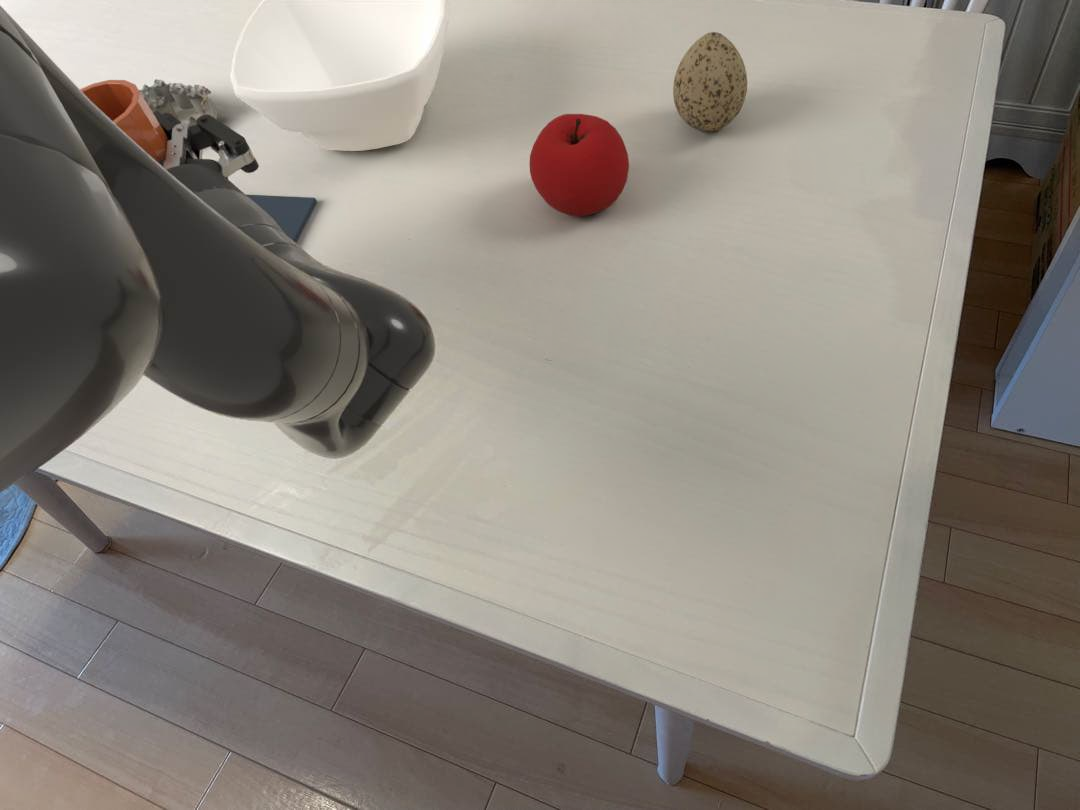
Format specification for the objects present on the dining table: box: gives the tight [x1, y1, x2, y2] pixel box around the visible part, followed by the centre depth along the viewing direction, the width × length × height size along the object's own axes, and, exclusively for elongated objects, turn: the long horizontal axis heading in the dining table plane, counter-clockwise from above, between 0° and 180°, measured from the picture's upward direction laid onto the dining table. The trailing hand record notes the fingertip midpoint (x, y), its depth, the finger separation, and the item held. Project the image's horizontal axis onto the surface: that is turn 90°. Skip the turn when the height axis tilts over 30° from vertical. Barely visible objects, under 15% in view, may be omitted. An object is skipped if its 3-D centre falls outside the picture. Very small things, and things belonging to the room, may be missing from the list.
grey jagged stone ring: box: [138, 79, 219, 126], centre depth 92 cm, size 11×8×4 cm
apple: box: [528, 113, 630, 217], centre depth 74 cm, size 9×9×10 cm
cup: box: [79, 79, 169, 162], centre depth 62 cm, size 7×7×11 cm
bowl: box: [229, 0, 451, 152], centre depth 84 cm, size 22×22×12 cm
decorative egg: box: [672, 31, 748, 132], centre depth 77 cm, size 7×7×10 cm
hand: (117, 146), depth 62 cm, fingers closed on cup, 7 cm apart
